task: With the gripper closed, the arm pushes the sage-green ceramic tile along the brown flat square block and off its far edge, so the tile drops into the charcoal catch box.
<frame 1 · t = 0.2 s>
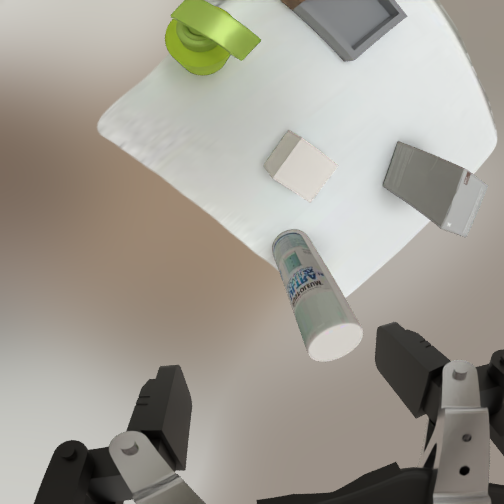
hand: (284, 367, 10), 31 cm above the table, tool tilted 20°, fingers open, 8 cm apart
spray can: (290, 245, 45), on the table
soap dispenser: (207, 56, 28), on the table
white cube: (292, 158, 38), on the table
catch box: (348, 11, 26), on the table
skincare box: (401, 166, 40), on the table
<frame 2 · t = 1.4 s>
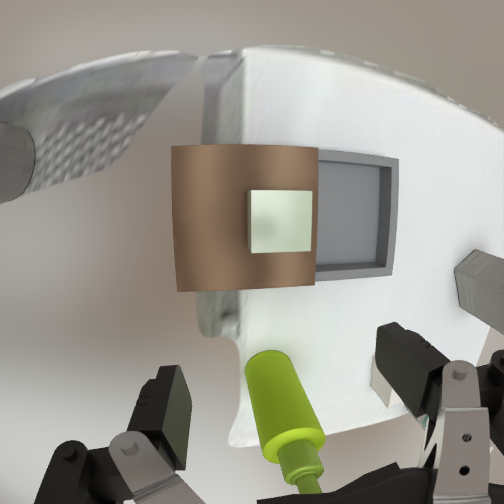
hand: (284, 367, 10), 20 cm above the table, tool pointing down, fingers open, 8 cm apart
brown flat square block: (242, 214, 29), on the table
soap dispenser: (272, 367, 34), on the table
white cube: (387, 363, 37), on the table
tile: (275, 218, 25), point 4 cm above the table, touching brown flat square block
catch box: (346, 214, 30), on the table
skincare box: (465, 278, 36), on the table
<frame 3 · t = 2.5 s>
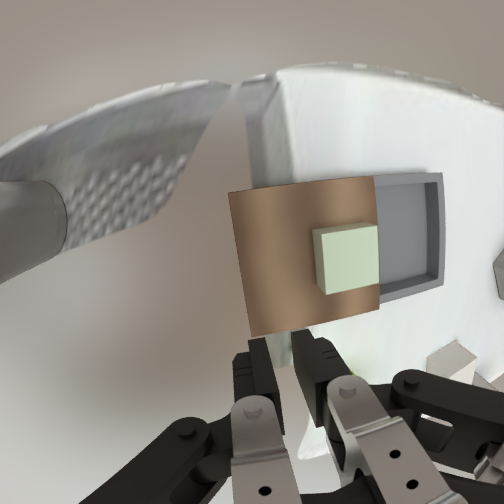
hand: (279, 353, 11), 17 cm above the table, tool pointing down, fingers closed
spray can: (465, 384, 37), on the table
brown flat square block: (303, 248, 28), on the table
white cube: (439, 361, 35), on the table
tile: (341, 253, 24), point 4 cm above the table, touching brown flat square block
catch box: (398, 232, 29), on the table
skincare box: (502, 270, 32), on the table
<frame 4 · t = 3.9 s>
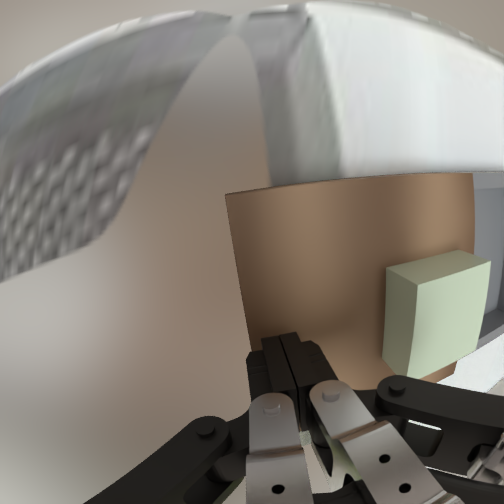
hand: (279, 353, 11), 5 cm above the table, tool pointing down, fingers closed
brown flat square block: (352, 289, 16), on the table
white cube: (484, 402, 23), on the table
tile: (423, 304, 12), point 4 cm above the table, touching brown flat square block
catch box: (474, 256, 17), on the table
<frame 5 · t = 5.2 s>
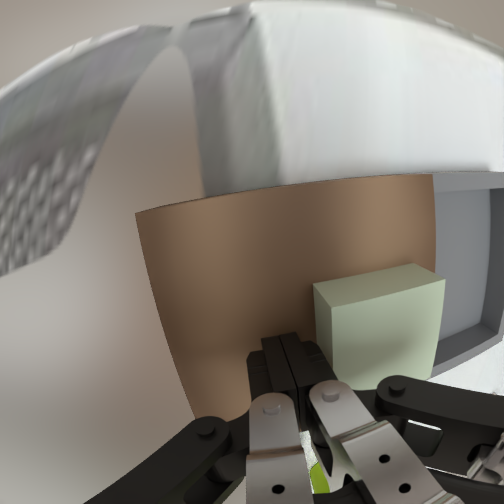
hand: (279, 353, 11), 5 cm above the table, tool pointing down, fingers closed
brown flat square block: (297, 301, 16), on the table
soap dispenser: (343, 463, 20), on the table
tile: (367, 323, 12), point 4 cm above the table, touching gripper, brown flat square block
catch box: (451, 266, 16), on the table
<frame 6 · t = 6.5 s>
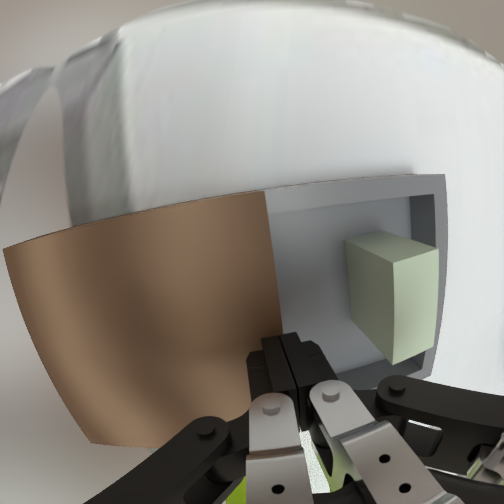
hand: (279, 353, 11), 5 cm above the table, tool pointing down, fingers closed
brown flat square block: (159, 324, 15), on the table
soap dispenser: (261, 480, 20), on the table
tile: (368, 298, 13), point 3 cm above the table, tilted 90°, touching catch box
catch box: (352, 290, 16), on the table
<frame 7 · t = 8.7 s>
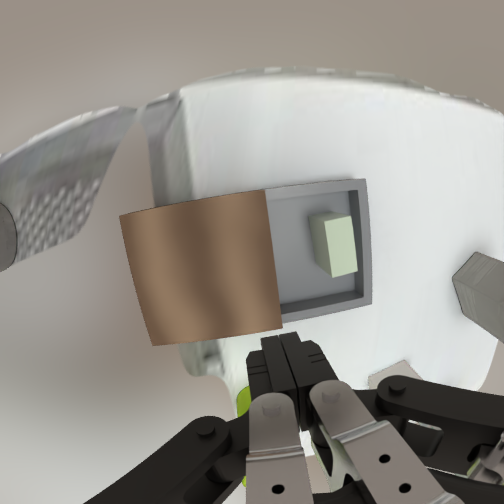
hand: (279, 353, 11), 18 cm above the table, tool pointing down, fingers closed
brown flat square block: (205, 263, 29), on the table
soap dispenser: (263, 398, 33), on the table
white cube: (386, 381, 35), on the table
tile: (319, 244, 26), point 3 cm above the table, tilted 90°, touching catch box
catch box: (315, 246, 29), on the table
skincare box: (467, 283, 33), on the table
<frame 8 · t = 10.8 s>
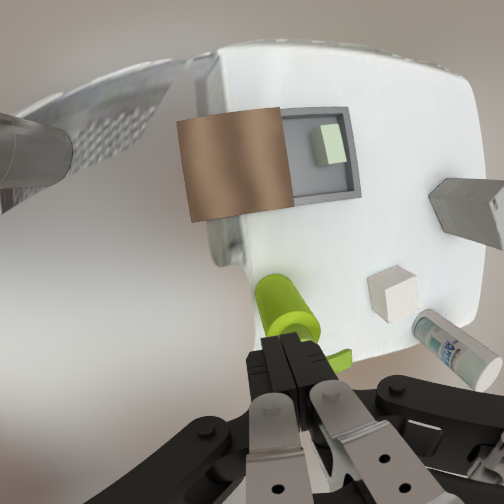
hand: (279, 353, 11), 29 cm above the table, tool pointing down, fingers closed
spray can: (423, 323, 46), on the table
brown flat square block: (234, 165, 37), on the table
soap dispenser: (278, 291, 42), on the table
white cube: (383, 286, 44), on the table
tile: (318, 147, 35), point 3 cm above the table, tilted 90°, touching catch box
catch box: (315, 155, 38), on the table
skincare box: (443, 205, 42), on the table
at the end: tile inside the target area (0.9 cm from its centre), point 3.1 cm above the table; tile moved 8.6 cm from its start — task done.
